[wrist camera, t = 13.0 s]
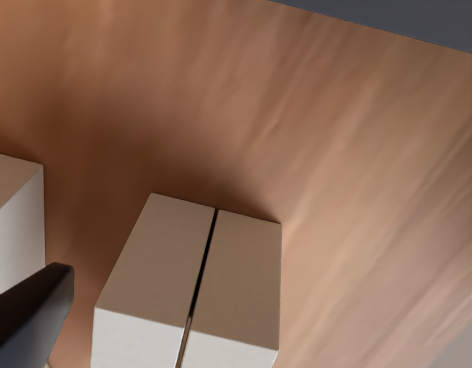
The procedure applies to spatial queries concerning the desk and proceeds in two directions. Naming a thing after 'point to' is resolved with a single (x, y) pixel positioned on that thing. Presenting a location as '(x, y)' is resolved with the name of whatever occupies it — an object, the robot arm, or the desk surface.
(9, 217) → the plain white rectangular box
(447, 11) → the dark grey square prism
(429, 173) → the desk surface
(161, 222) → the cream book
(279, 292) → the cream rectangular block
